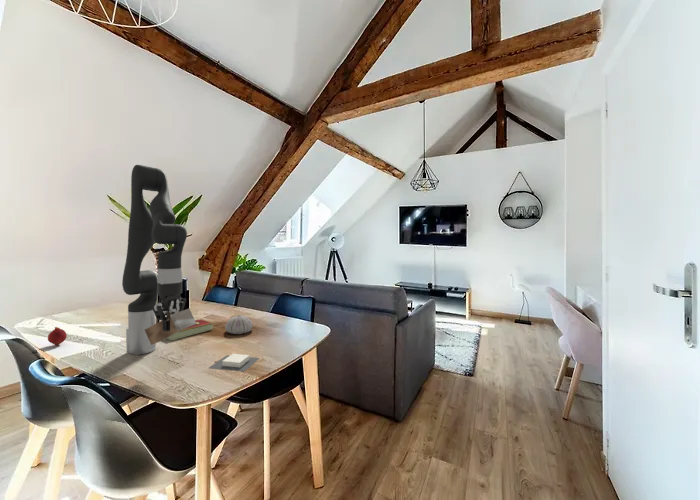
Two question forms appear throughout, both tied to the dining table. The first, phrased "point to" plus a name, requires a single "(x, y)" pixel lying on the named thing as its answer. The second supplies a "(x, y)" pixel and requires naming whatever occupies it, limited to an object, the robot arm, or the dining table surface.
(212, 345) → the dining table surface
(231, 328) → the sea urchin shell
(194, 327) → the hardcover book
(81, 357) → the dining table surface
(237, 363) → the tile
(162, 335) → the wooden post on base
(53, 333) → the onion
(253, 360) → the mat
